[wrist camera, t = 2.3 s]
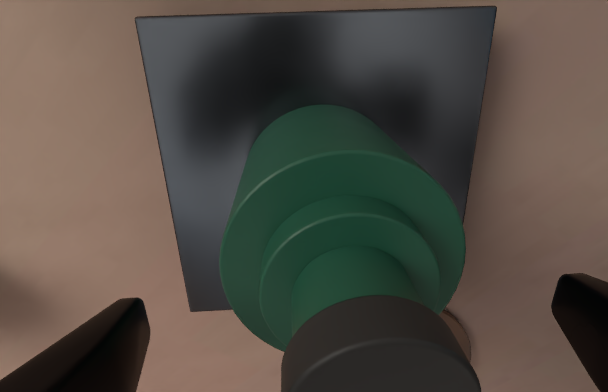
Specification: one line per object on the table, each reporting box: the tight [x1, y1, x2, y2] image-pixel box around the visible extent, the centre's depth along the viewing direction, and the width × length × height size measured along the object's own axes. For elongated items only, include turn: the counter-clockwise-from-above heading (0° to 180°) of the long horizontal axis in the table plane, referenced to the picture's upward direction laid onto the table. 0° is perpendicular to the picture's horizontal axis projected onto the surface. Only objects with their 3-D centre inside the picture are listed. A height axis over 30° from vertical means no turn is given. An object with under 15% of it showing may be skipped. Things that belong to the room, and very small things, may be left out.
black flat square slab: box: [135, 6, 497, 312], centre depth 15 cm, size 12×12×2 cm
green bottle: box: [219, 104, 481, 392], centre depth 10 cm, size 6×6×10 cm
